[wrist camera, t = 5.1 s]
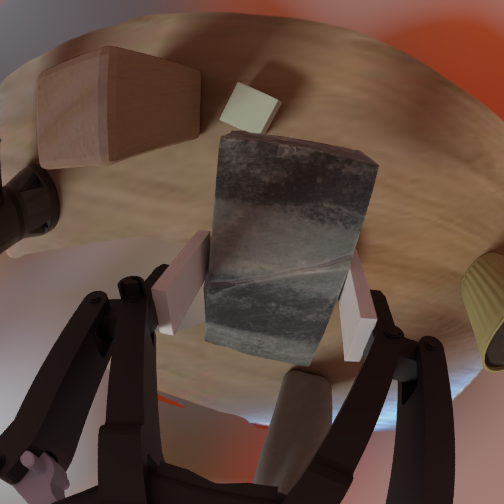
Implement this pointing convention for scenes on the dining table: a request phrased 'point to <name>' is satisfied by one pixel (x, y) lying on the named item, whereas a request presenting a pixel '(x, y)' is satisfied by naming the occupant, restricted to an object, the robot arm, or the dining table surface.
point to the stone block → (282, 241)
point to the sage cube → (250, 109)
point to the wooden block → (114, 107)
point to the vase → (295, 429)
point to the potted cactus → (486, 307)
